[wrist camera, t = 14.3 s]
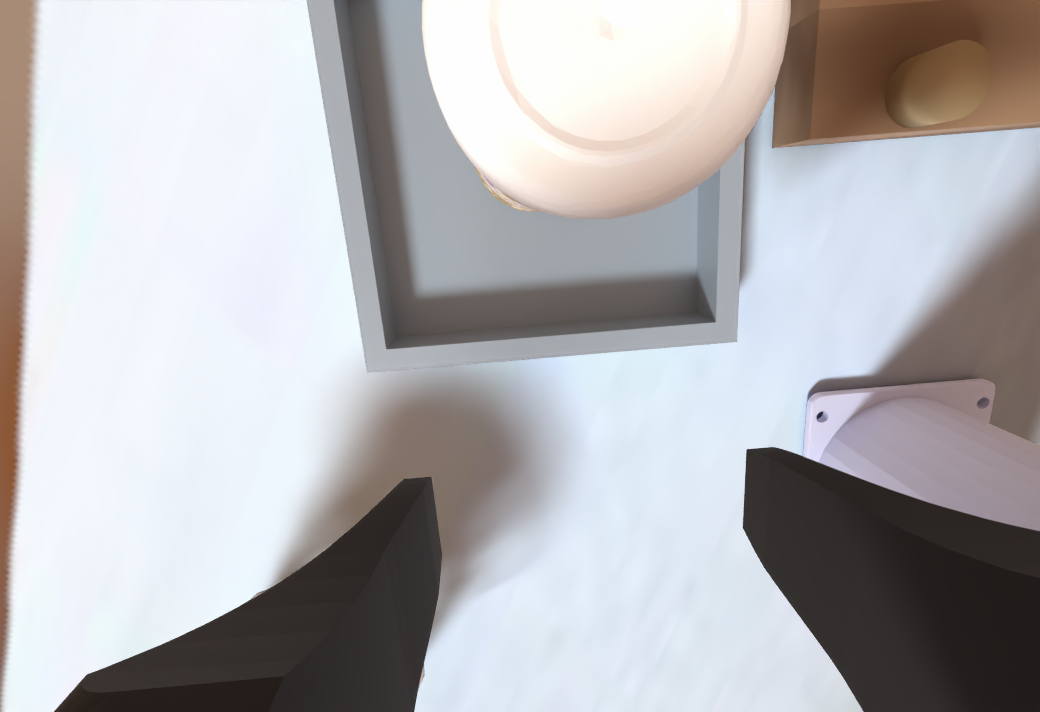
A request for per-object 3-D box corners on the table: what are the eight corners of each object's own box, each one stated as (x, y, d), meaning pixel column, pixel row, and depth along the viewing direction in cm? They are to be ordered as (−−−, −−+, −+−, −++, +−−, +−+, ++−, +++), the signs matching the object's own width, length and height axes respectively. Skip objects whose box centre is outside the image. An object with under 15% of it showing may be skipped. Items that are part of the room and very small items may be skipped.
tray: (710, 327, 22) (737, 341, 19) (382, 354, 21) (367, 372, 19) (720, -59, 18) (754, -101, 15) (323, -31, 18) (295, -69, 15)
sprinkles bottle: (446, 142, 19) (329, -9, 6) (541, 49, 18) (649, -354, 5) (529, 239, 20) (586, 293, 7) (622, 155, 19) (880, 41, 6)
